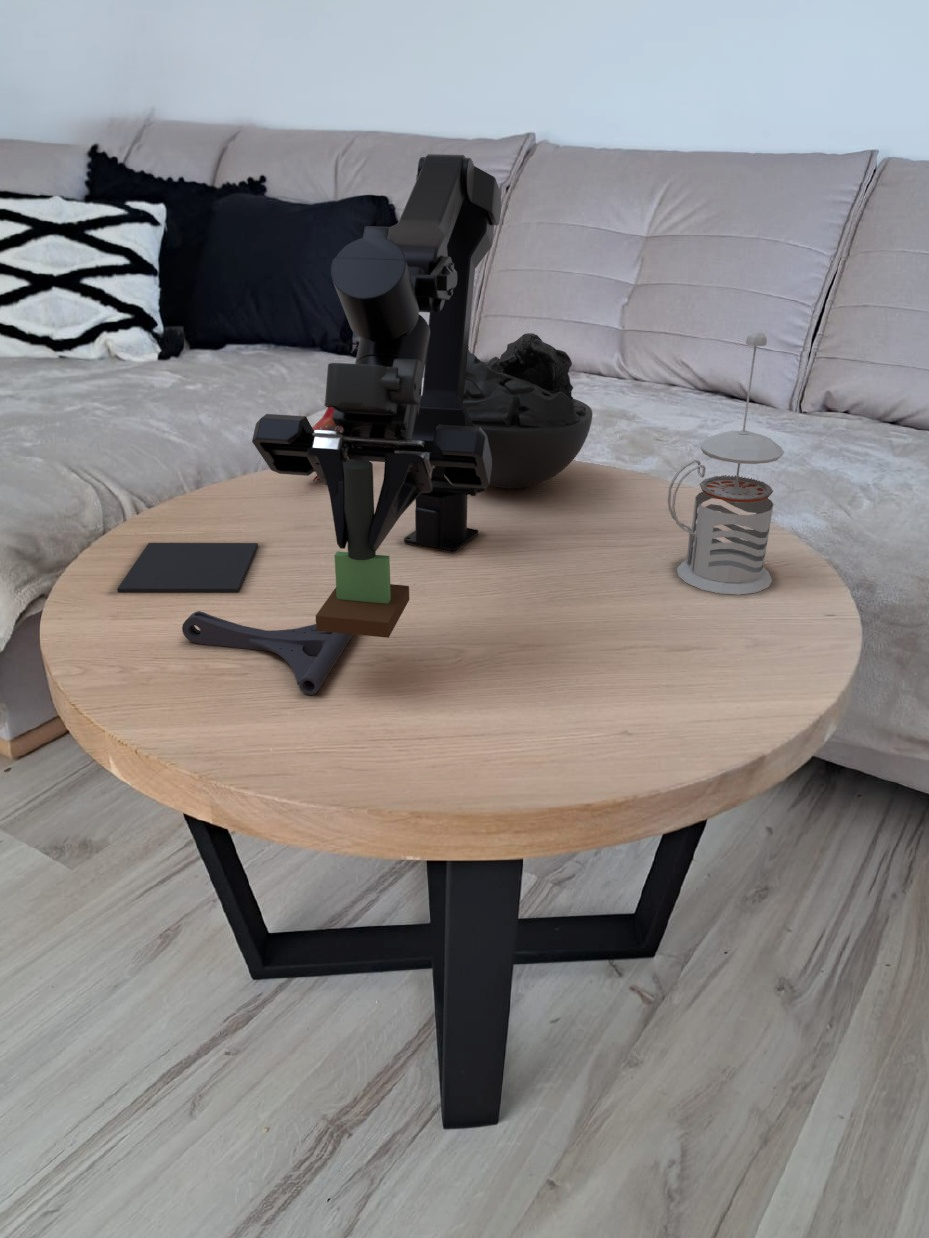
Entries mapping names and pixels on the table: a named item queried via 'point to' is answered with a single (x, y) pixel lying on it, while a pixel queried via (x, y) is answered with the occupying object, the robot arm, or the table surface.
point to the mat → (190, 567)
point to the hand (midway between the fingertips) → (356, 548)
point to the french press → (730, 512)
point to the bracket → (275, 645)
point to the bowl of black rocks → (526, 411)
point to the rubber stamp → (361, 569)
